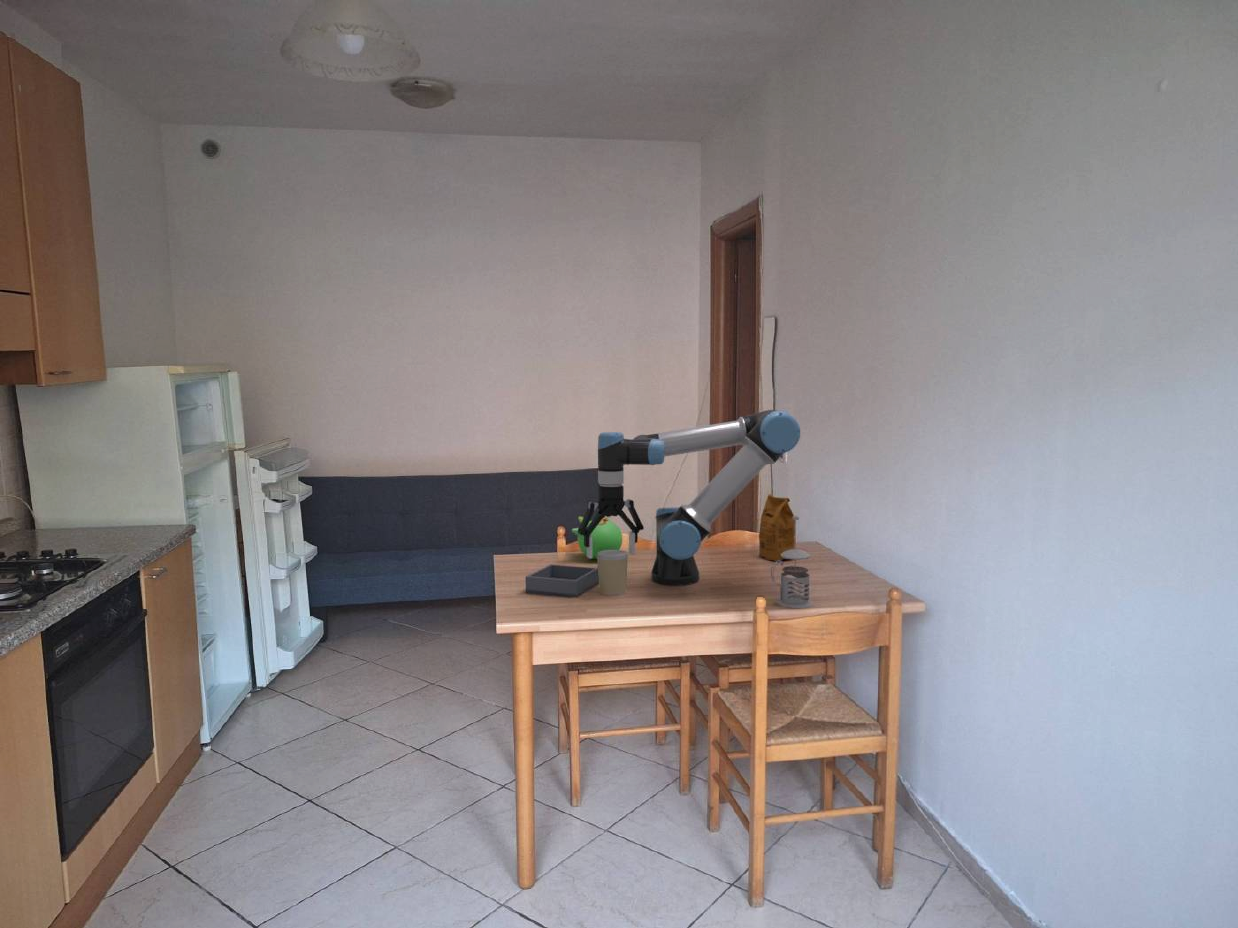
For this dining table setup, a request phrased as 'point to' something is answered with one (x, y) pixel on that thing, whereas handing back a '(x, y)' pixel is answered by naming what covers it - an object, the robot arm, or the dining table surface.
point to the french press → (794, 579)
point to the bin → (562, 580)
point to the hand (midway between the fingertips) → (611, 555)
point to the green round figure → (601, 537)
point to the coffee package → (776, 528)
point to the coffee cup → (612, 572)
